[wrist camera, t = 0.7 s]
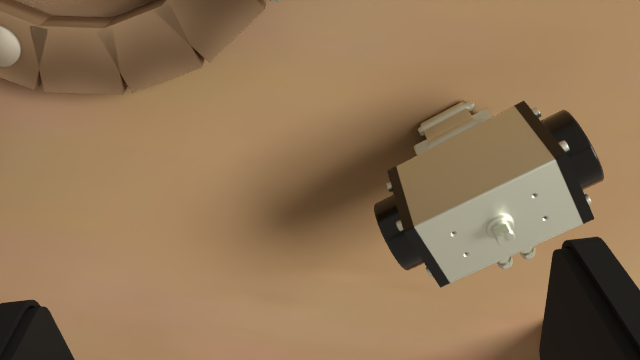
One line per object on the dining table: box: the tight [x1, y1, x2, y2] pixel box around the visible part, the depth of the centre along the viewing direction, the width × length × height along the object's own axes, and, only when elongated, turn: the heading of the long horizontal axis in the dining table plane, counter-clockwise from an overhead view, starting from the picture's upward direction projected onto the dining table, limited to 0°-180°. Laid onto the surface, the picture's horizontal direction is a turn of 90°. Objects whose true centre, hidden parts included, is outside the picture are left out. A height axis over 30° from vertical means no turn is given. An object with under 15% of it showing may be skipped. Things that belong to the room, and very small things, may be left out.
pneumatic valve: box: [374, 101, 604, 287], centre depth 34 cm, size 6×12×12 cm, turn 121°
